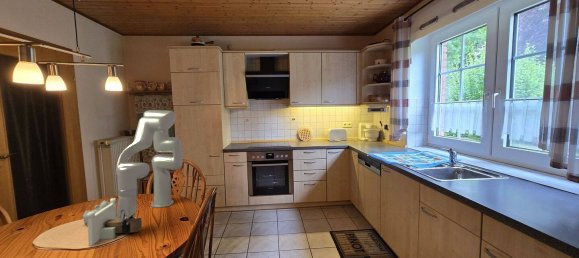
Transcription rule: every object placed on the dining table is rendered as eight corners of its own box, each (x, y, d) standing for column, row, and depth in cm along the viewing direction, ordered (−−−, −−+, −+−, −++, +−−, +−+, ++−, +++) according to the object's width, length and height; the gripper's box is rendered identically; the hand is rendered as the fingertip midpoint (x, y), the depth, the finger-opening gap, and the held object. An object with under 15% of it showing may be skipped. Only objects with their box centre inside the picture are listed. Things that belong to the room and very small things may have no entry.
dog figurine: (114, 219, 134) (114, 199, 134) (85, 228, 124) (85, 206, 123) (110, 217, 137) (110, 197, 137) (81, 225, 126) (80, 204, 126)
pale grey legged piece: (112, 225, 127) (111, 198, 126) (128, 224, 128) (127, 197, 128) (87, 246, 107) (86, 213, 106) (106, 244, 108) (105, 213, 108)
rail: (104, 233, 116) (104, 222, 115) (109, 229, 120) (109, 219, 119) (138, 231, 118) (137, 221, 118) (141, 227, 122) (141, 217, 122)
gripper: (127, 187, 126) (127, 223, 127) (109, 198, 109) (110, 239, 110) (143, 186, 127) (144, 222, 128) (128, 197, 110) (128, 238, 112)
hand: (128, 229), depth 119 cm, fingers closed on rail, 3 cm apart
